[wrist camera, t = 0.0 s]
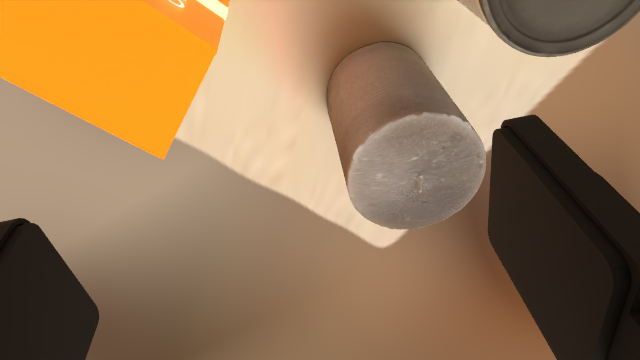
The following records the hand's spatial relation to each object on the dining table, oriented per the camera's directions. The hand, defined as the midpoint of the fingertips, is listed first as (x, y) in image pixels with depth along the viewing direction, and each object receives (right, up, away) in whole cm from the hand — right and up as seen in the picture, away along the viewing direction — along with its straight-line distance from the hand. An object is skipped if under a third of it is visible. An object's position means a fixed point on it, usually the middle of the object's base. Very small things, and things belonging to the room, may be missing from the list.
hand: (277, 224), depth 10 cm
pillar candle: (+6, +9, +33) cm, 35 cm away
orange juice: (-12, +16, +26) cm, 33 cm away
